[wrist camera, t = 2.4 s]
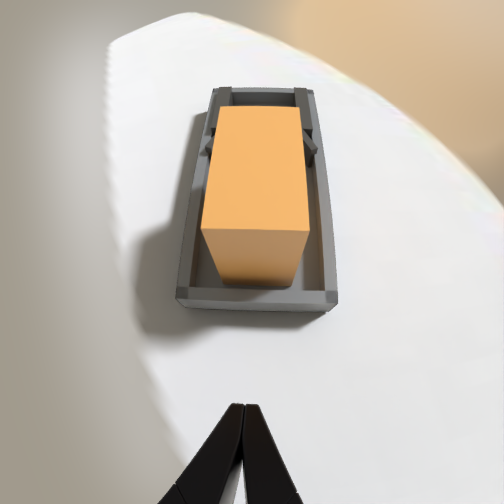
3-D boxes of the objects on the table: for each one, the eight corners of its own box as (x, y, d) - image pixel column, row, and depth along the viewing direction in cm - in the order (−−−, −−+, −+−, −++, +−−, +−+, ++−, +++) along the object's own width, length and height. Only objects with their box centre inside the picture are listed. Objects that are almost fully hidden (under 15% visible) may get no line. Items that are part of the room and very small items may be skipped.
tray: (329, 311, 19) (340, 300, 16) (185, 307, 20) (172, 295, 17) (310, 108, 28) (313, 84, 25) (215, 106, 28) (212, 83, 25)
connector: (291, 286, 19) (309, 230, 12) (223, 284, 19) (200, 228, 12) (288, 162, 23) (296, 84, 16) (234, 161, 23) (224, 83, 16)
